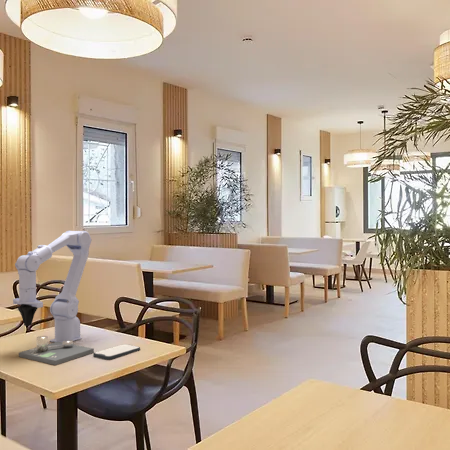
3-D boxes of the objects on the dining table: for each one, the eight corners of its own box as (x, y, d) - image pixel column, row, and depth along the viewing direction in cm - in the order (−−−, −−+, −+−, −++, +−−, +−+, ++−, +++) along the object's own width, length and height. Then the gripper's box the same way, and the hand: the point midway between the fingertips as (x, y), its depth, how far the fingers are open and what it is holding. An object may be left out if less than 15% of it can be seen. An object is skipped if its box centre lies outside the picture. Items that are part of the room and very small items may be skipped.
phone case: (124, 347, 185) (91, 357, 171) (124, 343, 185) (91, 352, 171) (141, 351, 180) (109, 361, 166) (141, 347, 180) (109, 357, 166)
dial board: (58, 345, 186) (58, 341, 186) (93, 352, 176) (93, 348, 176) (18, 356, 171) (18, 352, 171) (55, 365, 161) (55, 360, 161)
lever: (71, 344, 180) (71, 331, 180) (74, 346, 177) (74, 333, 177) (29, 350, 172) (29, 337, 172) (32, 353, 169) (32, 339, 169)
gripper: (5, 288, 178) (5, 325, 178) (30, 291, 170) (31, 330, 170) (22, 285, 184) (22, 321, 184) (47, 288, 176) (48, 326, 176)
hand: (27, 325), depth 178 cm, fingers closed
